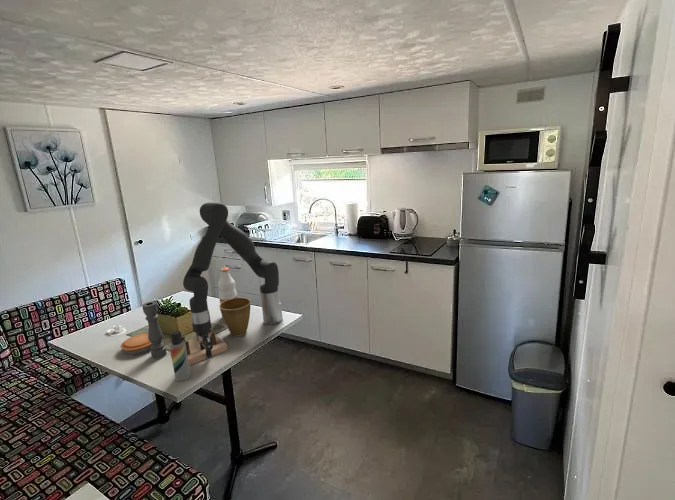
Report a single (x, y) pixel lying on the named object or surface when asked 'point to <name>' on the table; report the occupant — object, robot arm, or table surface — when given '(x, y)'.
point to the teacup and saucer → (115, 330)
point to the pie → (137, 344)
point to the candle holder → (154, 330)
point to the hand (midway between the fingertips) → (206, 353)
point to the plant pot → (236, 315)
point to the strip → (202, 354)
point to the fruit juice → (226, 286)
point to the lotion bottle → (179, 356)
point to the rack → (194, 345)
